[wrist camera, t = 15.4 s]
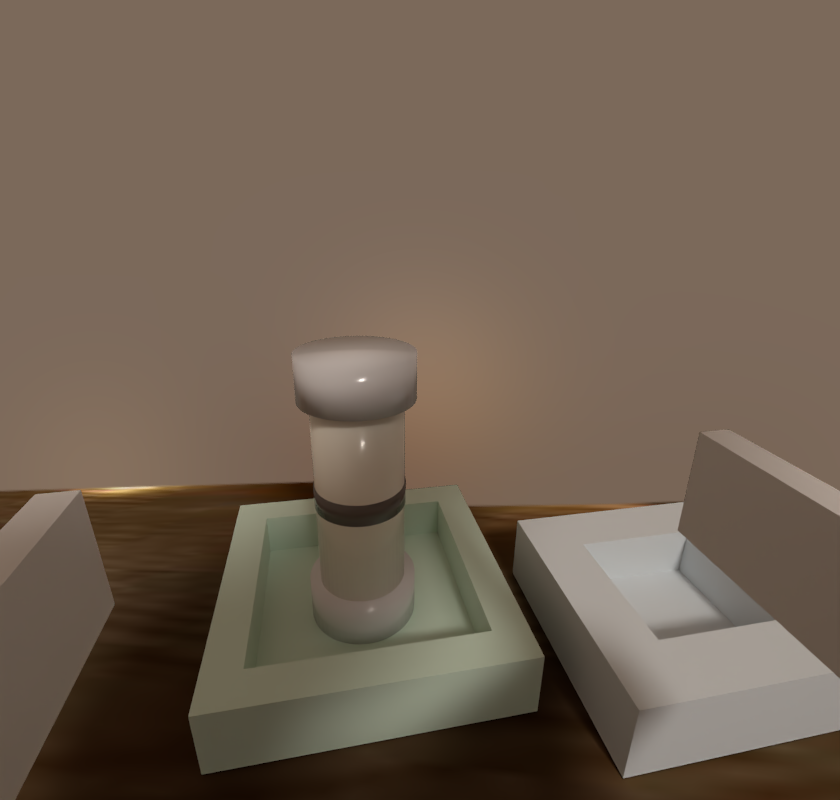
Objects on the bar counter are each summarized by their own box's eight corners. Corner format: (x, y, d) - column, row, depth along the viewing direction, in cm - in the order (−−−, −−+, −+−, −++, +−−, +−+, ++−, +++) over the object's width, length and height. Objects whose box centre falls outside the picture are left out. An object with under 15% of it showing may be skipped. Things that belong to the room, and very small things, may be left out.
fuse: (405, 563, 27) (406, 334, 23) (423, 635, 23) (428, 366, 18) (313, 575, 27) (293, 337, 22) (312, 651, 22) (288, 373, 17)
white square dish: (684, 550, 30) (696, 500, 29) (869, 723, 20) (901, 659, 19) (512, 572, 28) (517, 520, 27) (623, 778, 18) (639, 710, 17)
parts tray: (455, 524, 32) (457, 484, 31) (537, 711, 20) (544, 656, 19) (246, 548, 30) (240, 505, 29) (201, 774, 18) (187, 716, 17)
